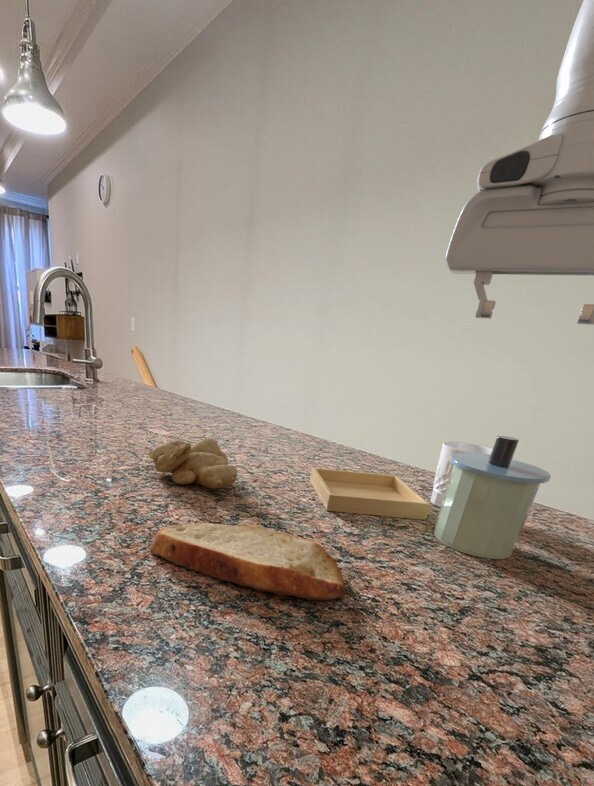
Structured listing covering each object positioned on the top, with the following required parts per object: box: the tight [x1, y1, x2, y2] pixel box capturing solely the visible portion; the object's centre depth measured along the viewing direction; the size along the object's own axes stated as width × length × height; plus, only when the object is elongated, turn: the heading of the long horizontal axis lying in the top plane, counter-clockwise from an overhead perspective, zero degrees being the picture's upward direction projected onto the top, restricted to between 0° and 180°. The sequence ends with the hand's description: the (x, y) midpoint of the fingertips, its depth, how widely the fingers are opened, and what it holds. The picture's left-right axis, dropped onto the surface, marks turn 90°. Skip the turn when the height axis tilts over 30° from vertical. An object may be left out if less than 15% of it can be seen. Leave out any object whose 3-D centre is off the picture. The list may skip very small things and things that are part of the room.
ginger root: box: [148, 438, 238, 490], centre depth 75 cm, size 16×16×8 cm
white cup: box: [430, 441, 493, 508], centre depth 73 cm, size 8×8×10 cm
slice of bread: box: [149, 522, 347, 601], centre depth 48 cm, size 18×18×4 cm
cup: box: [433, 465, 541, 560], centre depth 59 cm, size 10×10×10 cm
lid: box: [449, 435, 552, 484], centre depth 57 cm, size 11×11×5 cm
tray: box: [309, 467, 431, 521], centre depth 74 cm, size 15×14×3 cm
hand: (531, 321), depth 49 cm, fingers open, 8 cm apart
